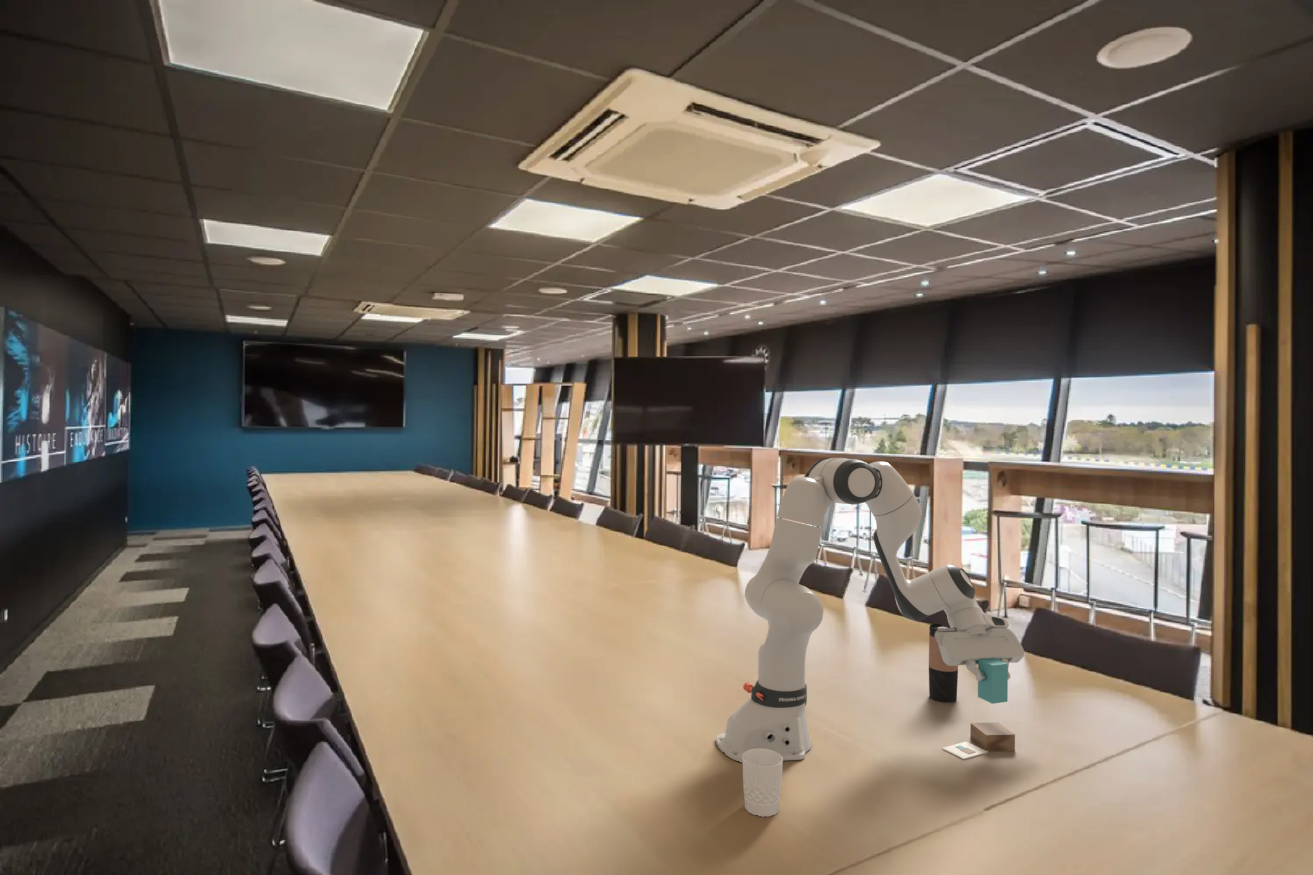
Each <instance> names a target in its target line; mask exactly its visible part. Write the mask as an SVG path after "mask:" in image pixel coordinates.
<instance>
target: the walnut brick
mask: <svg viewBox="0 0 1313 875" xmlns="http://www.w3.org/2000/svg"><path fill="white" fill-rule="evenodd" d="M970 739H971V740H972V741H973V742H974V743H975V744H976V745H978V747H979V748H981V749H983V750H985V751H988V752H1007V751H1008V752H1011V751H1012V752H1013V751H1016V750H1015V747H1016V745H1015V744H1016V734H1015V733H1014V732H1012V731H1011V730H1010V729H1008V728H1006V727H1005V726H1004V725H1003V724H1001V723H1000V722H997V721H996V722H992V721H991V722H970Z"/></svg>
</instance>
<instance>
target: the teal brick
mask: <svg viewBox="0 0 1313 875" xmlns="http://www.w3.org/2000/svg"><path fill="white" fill-rule="evenodd" d="M977 666H978V667H977V668H978V669H979V670H980V671H984V673H985V676H986V679H985V680H984V681H977V697H978V698H980V699H982V700H983V701H985V702H988V703H990V704H993V705H994V704H999V703H1008V698H1009V697H1008V689H1009V688H1008V686H1009V685H1008V683H1009V680H1008V672H1009V667H1008V664H1007V663H1005V662H1002V661H1000V660H997V659H979V660H978V664H977Z"/></svg>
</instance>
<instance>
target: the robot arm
mask: <svg viewBox="0 0 1313 875" xmlns="http://www.w3.org/2000/svg"><path fill="white" fill-rule="evenodd" d="M782 495H783V496H782V498H781V500H780V502H779V503H780V504H779V507H778V512H777V516H776V520H775V524H774V528H773V533H772V537H771V540H770V544H769V549H768V551H767V554H766V556H765V557H764V561H763V562H762V564H761V566H760V568H759V570H757V573H756V574H755V575H754V576H753V577H751V578H750V579H749V581H748V582H747V583H746V586H745V590H744V598H745V601H746V604H747V605H748V606H749V608H750V609H751V610H752V611H753V613H754V614H756V615H757V616H758V617H761V618H762V619H764V620H765V621H767V624H768V628H767V634H766V638H765V641H764V643H762V644H761V645H760V647H759V648H758V654H757V655H758V656H757V663H758V664H757V669H758V670H757V674H758V675H757V680H756V682H755V684H754V685H753V684H751V683H750V682H748V681H746V682H745V683H744V684H743V686H742V689H743V690H744V691H745V692H746V693H748V694H751V695H750V697H749V699H747V701H745V702H744V703H743V704H742V705H740V706H739V707H738V708H737V709H736V710H734V711H733V712H732V713H731V714H730V715H729V716H728V718H727V722H726V726H725V727H726V728H725V732H722V733H719V734H717V735H716V740H715V743H716V745H718V746H717V747H718V749H719V750H720V751H721V752H722V753H723V752H724V753H725V754H724V753H723V754H724V755H725V756H727V757H729V758H730V759H731V760H734V761H737V762H738V761H739V763H742V755H743V753H744V752H746V751H748V750H751V749H768V750H772V751H775V752H777V753H779V754H780V755H781V756H782V758H783V761H798V760H804V759H805V757H806V753H807V752H809V750H810V749H812V748H811V747H812V746H813V745H812V741H811V737H810V734H809V728H808V722H807V711H806V710H807V709H806V706H807V703H808V702H807V701H808V692H807V691H808V687H807V683H806V656H807V650H808V645H809V641H810V638H811V636H812V634H813V632H814V631H815V630H817V629H818V628H819V626H820V625H821V623H822V622H823V619H824V611H825V610H824V605H823V603H822V600H821V599H820V598H819V596H817V594H816V593H815V592H813V591H812V590H811V589H809V588H808V587H807V586H805V585H802V584H800V581H801V578H802V577H803V574H804V573H805V571H806V569H807V568H808V567H809V566H810V565H812V564H813V563H814V561H815V560H816V559H817V556H818V551H819V546H820V542H821V537H822V534H823V533H822V531H823V527H824V521H825V515H826V514H827V511H828V509H829V507H830V506H831V505H832V504H833V503H834V504H835V503H836V504H842V505H845V504H846V505H847V504H848V505H859V504H863V503H865V504H866V506H867V507H868V509H869V511H870V512H871V514H872V516H873V517H874V520H875V524H876V529H875V531H874V532H873V534H872V535H873V543H874V546H875V550H876V552H877V555H878V557H879V560H880V562H881V565H882V567H883V569H884V573H885V575H886V577H887V580H888V582H889V584H890V587H891V589H892V592H893V594H894V599H895V603H896V606H897V609H898V610H899V612H900V614H902V616H903V617H904V618H906V619H908V620H911V621H914V622H922V621H923V620H925V619H927V618H929V617H931V616H932V615H935V614H936V613H939V612H941V611H943V612H944V613H945V614H946V618H947V622H948V624H949V625H950V627H951V628H945V629H944V628H939V629H938V630H937V631H936V632H935V638H936V640H937V642H938V643H939V649H940V653H941V656H942V659H943V661H944V663H946V664H947V665H948V666H955V665H958V666H965V667H966V669H967V670H968V671H969V672H970V673H972V675H974V677H975V678H976V680H977V682H978V681H984V680H985V679H986V676H985V673H984V671H980V670H979V669H978V667H977V666H976V665H978V660H979V659H997V660H1000V661H1002V662H1005V663H1007V664H1008V668H1009V664H1013V663H1015V664H1016V663H1019V662H1020V661H1021V660H1022V659H1023V658H1024V656H1025V650H1024V648H1023V646H1022V643H1021V642H1020V640H1019V639H1018V637H1017V635H1016V633H1014V631H1013V630H1012V629H1010V628H1009V626H1010V625H1009V624H1010V623H1009V622H1008V620H1007V619H1005V618H1003V617H998V616H994V615H991V614H988V613H986V612H984V611H983V608H982V607H980V605H979V604H978V602H977V597H976V589H975V587H974V585H973V582H972V580H971V579H970V577H969V574H968V573H967V571H966V570H964V569H963V568H961V567H960V566H958V565H954V564H950V563H948V564H944V565H942V566H939V567H937V568H935V569H933V570H930V571H929V572H926V573H923V574H922V575H919V576H917V577H915V578H912V579H907V578H906V576H905V573H904V571H903V569H902V566H901V563H900V561H899V558H898V556H897V553H898V551H899V550H900V548H901V547H902V546H903V544H904V543H906V541H907V540H908V539H910V538H911V536H912V535H913V534H914V533H915V532H916V530H917V528H918V527H919V525H920V523H921V520H922V516H923V515H922V514H923V512H922V507H921V505H920V502H919V500H918V499H917V497H916V495H915V493H914V491H913V490H912V489H911V487H910V486H909V484H908V483H907V482H906V481H905V479H904V478H903V476H901V474H900V473H899V472H898V470H896V469H895V467H893V465H891V464H890V463H889V462H886V461H880V460H879V461H874V462H871V463H867V462H865V461H863V460H861V459H855V458H846V457H826V458H823V459H822V458H821V459H819V460H816V462H814V463H813V464H812V465H811V466H810V467H809V469H808V470H807V473H806V474H805V475H804V476H799V477H795V478H793V479H792V480H790V481H789V482H788V484H787V486H786V488H785V490H784V493H783V494H782ZM949 625H948V626H949ZM1010 679H1011V674H1010V672H1009V671H1008V681H1009V680H1010Z"/></svg>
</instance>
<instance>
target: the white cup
mask: <svg viewBox="0 0 1313 875" xmlns="http://www.w3.org/2000/svg"><path fill="white" fill-rule="evenodd" d="M783 762H784V760H783V758H782V756H781V755H780V754H779V753H777V752H775V751H772V750H768V749H751V750H748V751H746V752H744V753H743V755H742V762H741V764H742V783H743V784H742V788H743V796H744V809H745V810H746V811H747V812H748V813H749V814H752V816H756V815H758V816H757V817H760V816H761V818H762V817H764V818H765V816H766V818H767V817H772V815H773V816H775V815H777V814H778V813H780V812H779V811H780V800H781V794H782V793H781V791H782V782H783V777H782V776H783Z"/></svg>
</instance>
